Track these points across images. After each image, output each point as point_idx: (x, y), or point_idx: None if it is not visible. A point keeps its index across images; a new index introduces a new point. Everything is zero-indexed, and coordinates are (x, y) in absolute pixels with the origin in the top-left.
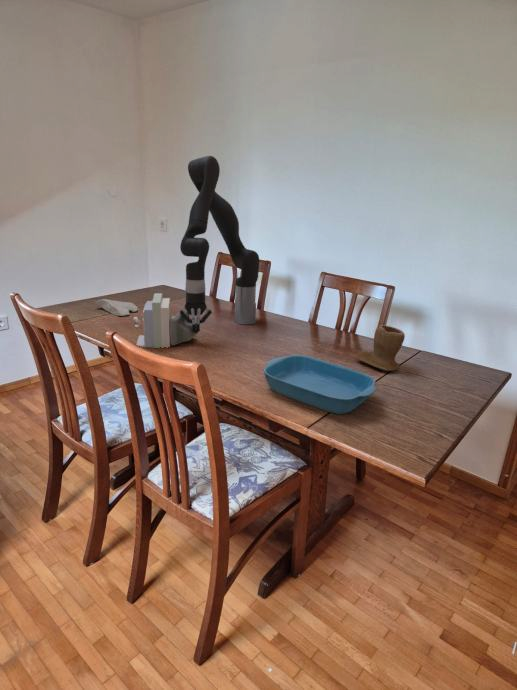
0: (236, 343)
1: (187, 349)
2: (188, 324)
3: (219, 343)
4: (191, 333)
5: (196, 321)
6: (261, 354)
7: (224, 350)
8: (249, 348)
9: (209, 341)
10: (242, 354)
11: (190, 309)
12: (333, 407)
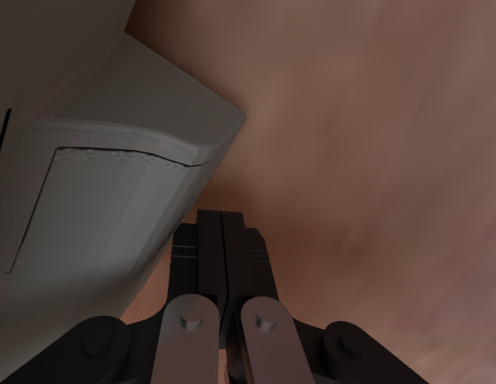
0: (484, 234)
1: None
2: (104, 239)
3: (380, 222)
4: (158, 258)
5: (236, 338)
6: (485, 356)
7: (352, 316)
8: (492, 303)
9: (326, 174)
10: (409, 354)
11: None
12: None
